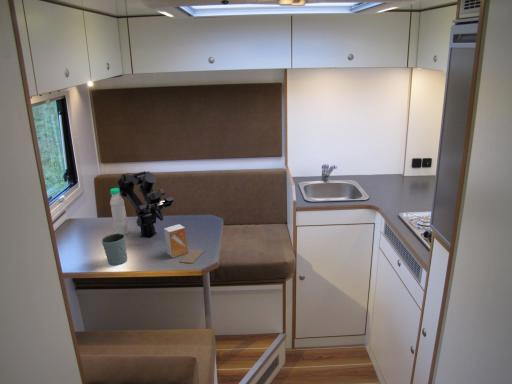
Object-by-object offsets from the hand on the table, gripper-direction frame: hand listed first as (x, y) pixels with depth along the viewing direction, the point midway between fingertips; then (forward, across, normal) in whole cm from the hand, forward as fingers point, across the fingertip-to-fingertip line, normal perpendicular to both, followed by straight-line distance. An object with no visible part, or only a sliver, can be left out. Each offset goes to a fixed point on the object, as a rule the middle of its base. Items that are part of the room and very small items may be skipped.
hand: (162, 220), depth 209 cm
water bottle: (-14, -8, +33) cm, 37 cm away
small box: (+18, 0, +1) cm, 18 cm away
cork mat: (+24, +2, -5) cm, 25 cm away
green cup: (+8, -24, +11) cm, 28 cm away
